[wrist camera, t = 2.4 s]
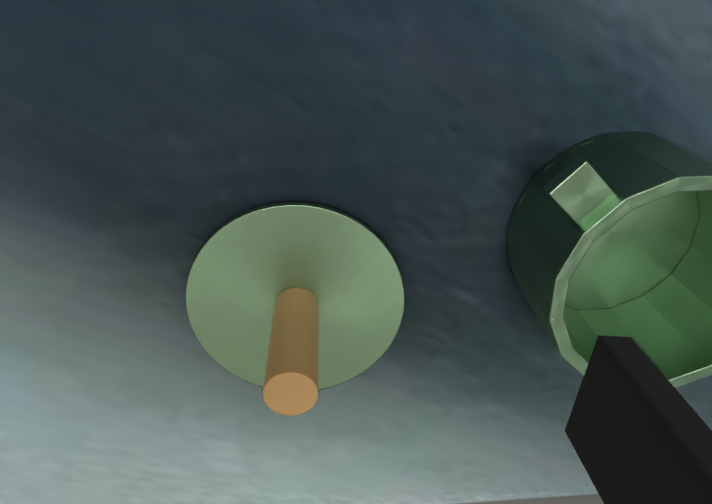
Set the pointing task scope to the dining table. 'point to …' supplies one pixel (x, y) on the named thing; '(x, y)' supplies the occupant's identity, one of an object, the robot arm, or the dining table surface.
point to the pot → (620, 251)
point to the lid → (295, 300)
